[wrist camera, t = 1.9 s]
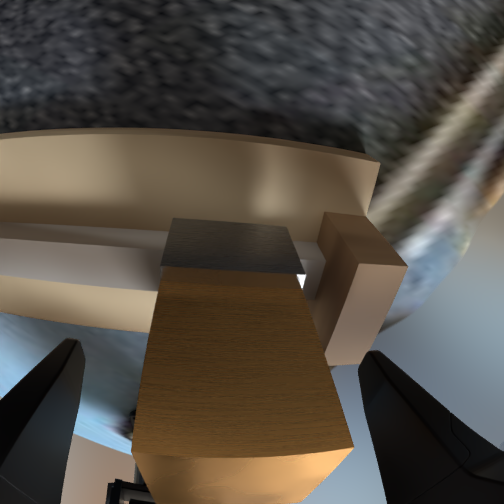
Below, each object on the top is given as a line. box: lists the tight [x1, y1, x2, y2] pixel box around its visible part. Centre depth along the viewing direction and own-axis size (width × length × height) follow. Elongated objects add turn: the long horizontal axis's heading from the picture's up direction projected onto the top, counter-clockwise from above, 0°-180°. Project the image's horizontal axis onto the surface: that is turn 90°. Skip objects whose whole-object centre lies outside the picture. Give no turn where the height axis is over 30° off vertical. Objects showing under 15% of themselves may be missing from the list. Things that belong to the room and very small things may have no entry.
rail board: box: [0, 128, 408, 366], centre depth 12 cm, size 10×24×6 cm, turn 82°
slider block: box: [131, 218, 354, 504], centre depth 9 cm, size 5×4×8 cm
